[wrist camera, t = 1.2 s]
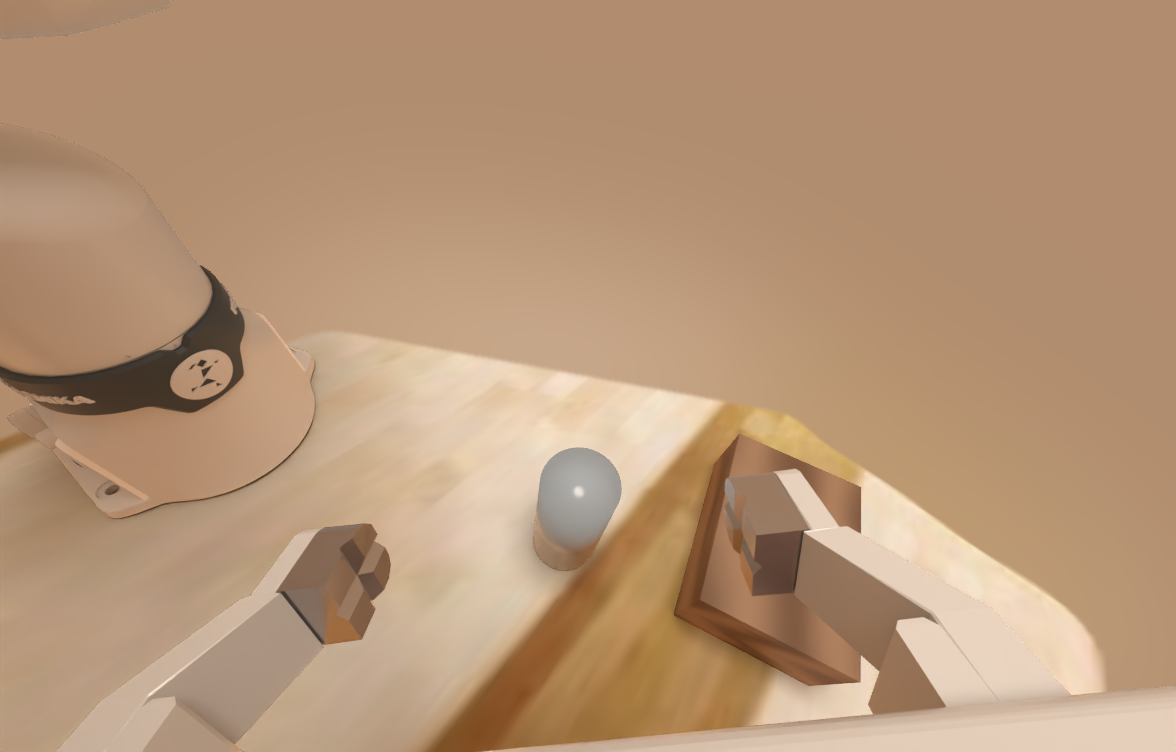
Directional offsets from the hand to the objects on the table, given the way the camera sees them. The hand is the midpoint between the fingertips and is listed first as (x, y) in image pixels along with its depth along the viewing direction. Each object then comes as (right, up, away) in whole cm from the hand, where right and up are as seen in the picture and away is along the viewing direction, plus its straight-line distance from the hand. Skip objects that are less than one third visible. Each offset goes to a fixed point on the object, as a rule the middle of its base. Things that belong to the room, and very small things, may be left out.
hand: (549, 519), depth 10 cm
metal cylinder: (-1, -11, +26) cm, 28 cm away
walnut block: (+16, -13, +27) cm, 34 cm away
